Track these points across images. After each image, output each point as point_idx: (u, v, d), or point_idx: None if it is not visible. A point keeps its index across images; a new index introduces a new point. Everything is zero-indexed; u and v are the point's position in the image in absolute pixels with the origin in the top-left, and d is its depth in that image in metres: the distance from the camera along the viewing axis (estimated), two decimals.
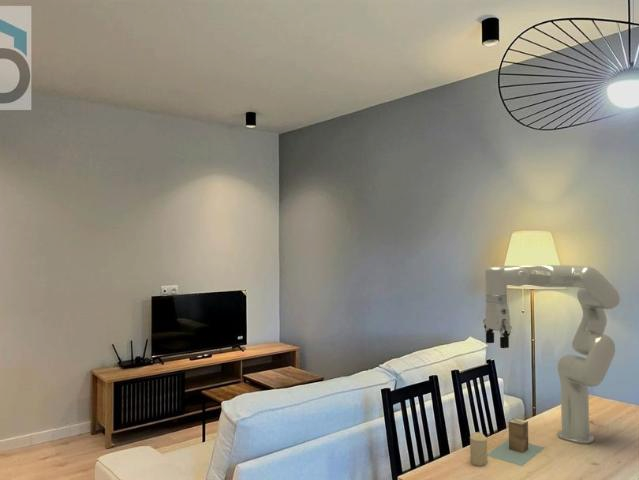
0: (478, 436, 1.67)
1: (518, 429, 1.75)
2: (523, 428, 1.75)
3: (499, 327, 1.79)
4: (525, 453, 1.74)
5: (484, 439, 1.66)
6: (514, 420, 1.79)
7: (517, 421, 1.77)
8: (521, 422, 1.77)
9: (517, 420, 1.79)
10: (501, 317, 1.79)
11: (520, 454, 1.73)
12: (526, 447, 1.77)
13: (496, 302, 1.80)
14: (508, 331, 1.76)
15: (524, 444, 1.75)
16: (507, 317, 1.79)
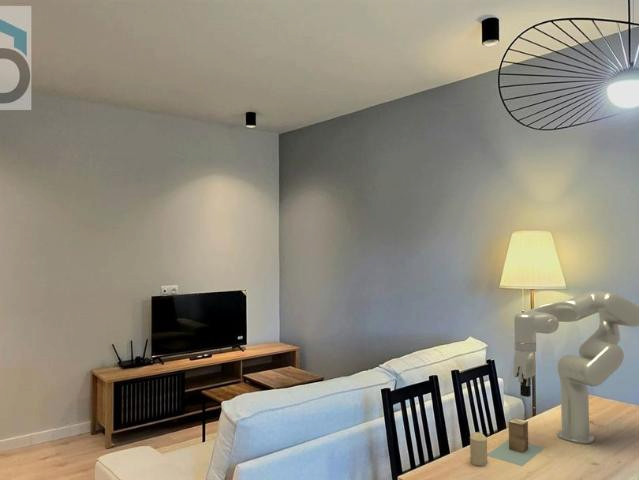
0: (478, 436, 1.67)
1: (518, 429, 1.75)
2: (523, 428, 1.75)
3: None
4: (525, 453, 1.74)
5: (484, 439, 1.66)
6: (514, 420, 1.79)
7: (517, 421, 1.77)
8: (521, 422, 1.77)
9: (517, 420, 1.79)
10: None
11: (520, 454, 1.73)
12: (526, 447, 1.77)
13: None
14: None
15: (524, 444, 1.75)
16: None
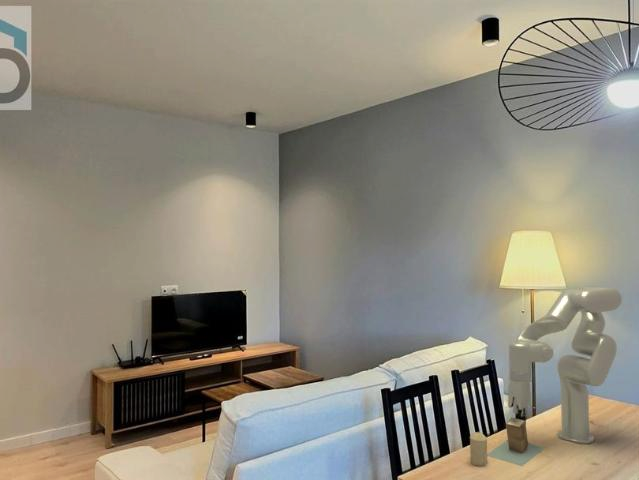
0: (478, 436, 1.67)
1: (516, 431, 1.74)
2: (521, 430, 1.74)
3: None
4: (525, 453, 1.74)
5: (484, 439, 1.66)
6: (512, 421, 1.77)
7: (515, 422, 1.76)
8: (518, 423, 1.75)
9: (514, 420, 1.77)
10: None
11: (520, 454, 1.73)
12: (526, 445, 1.76)
13: None
14: None
15: (524, 443, 1.75)
16: None
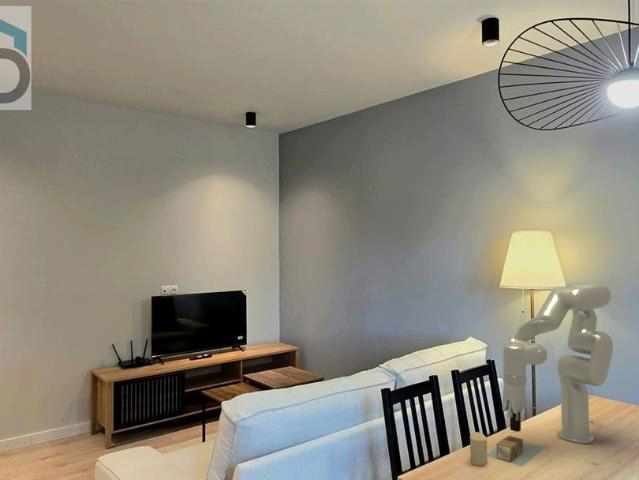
0: (478, 436, 1.67)
1: None
2: (513, 457, 1.68)
3: None
4: (525, 453, 1.74)
5: (484, 439, 1.66)
6: (500, 451, 1.70)
7: (504, 454, 1.69)
8: (507, 454, 1.68)
9: (502, 450, 1.69)
10: None
11: None
12: (521, 444, 1.73)
13: None
14: None
15: (519, 450, 1.72)
16: None
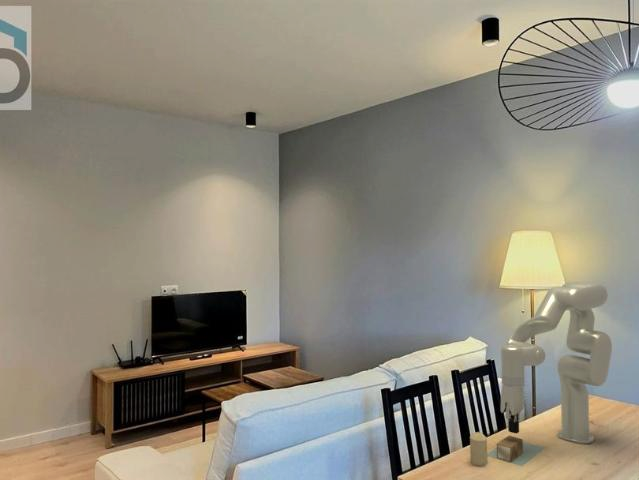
0: (478, 436, 1.67)
1: None
2: (513, 457, 1.68)
3: None
4: (525, 453, 1.74)
5: (484, 439, 1.66)
6: (500, 451, 1.70)
7: (504, 454, 1.69)
8: (507, 454, 1.68)
9: (502, 450, 1.69)
10: None
11: None
12: (521, 444, 1.73)
13: None
14: None
15: (519, 450, 1.72)
16: None
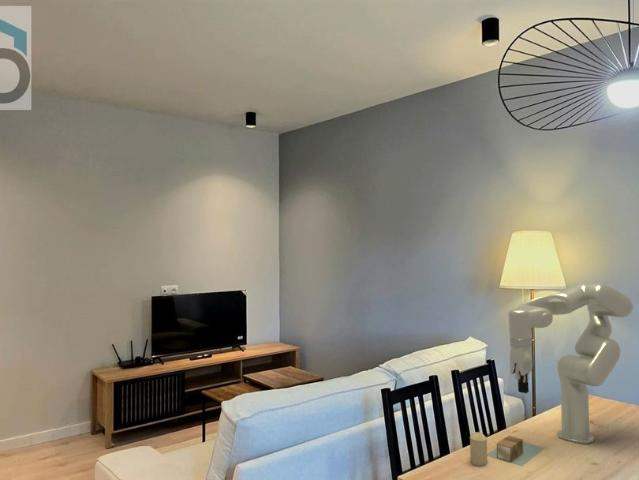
0: (478, 436, 1.67)
1: None
2: (513, 457, 1.68)
3: None
4: (525, 453, 1.74)
5: (484, 439, 1.66)
6: (500, 451, 1.70)
7: (504, 454, 1.69)
8: (507, 454, 1.68)
9: (502, 450, 1.69)
10: None
11: None
12: (521, 444, 1.73)
13: None
14: None
15: (519, 450, 1.72)
16: None
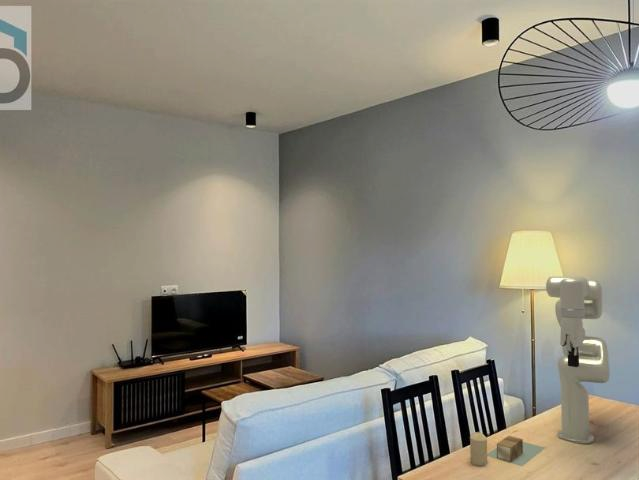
0: (478, 436, 1.67)
1: None
2: (513, 457, 1.68)
3: None
4: (525, 453, 1.74)
5: (484, 439, 1.66)
6: (500, 451, 1.70)
7: (504, 454, 1.69)
8: (507, 454, 1.68)
9: (502, 450, 1.69)
10: None
11: None
12: (521, 444, 1.73)
13: None
14: None
15: (519, 450, 1.72)
16: None
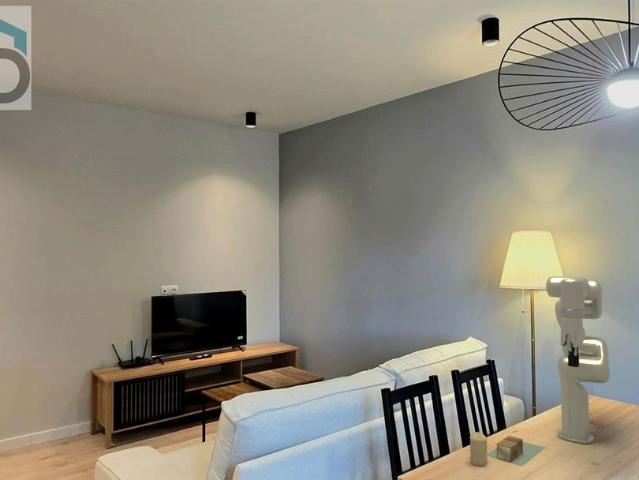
0: (478, 436, 1.67)
1: None
2: (513, 457, 1.68)
3: None
4: (525, 453, 1.74)
5: (484, 439, 1.66)
6: (500, 451, 1.70)
7: (504, 454, 1.69)
8: (507, 454, 1.68)
9: (502, 450, 1.69)
10: None
11: None
12: (521, 444, 1.73)
13: None
14: None
15: (519, 450, 1.72)
16: None
